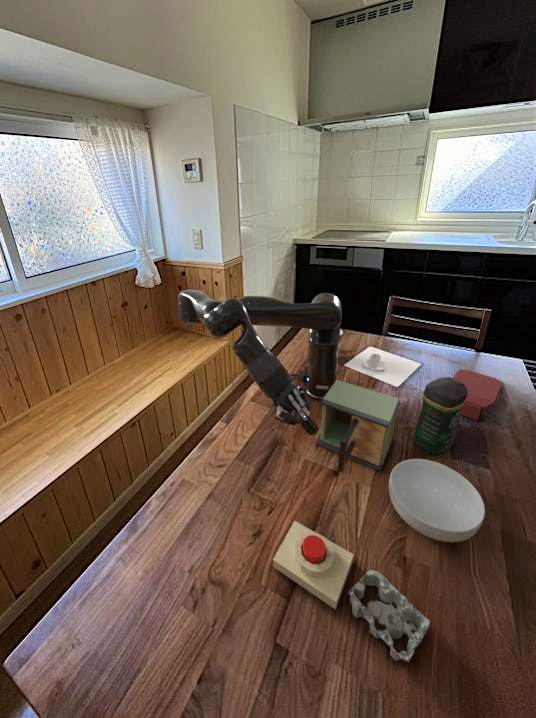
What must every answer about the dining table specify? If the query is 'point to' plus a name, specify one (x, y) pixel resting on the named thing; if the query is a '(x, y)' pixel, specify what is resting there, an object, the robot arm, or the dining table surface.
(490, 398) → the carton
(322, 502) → the dining table surface
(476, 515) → the cereal bowl
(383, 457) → the cupboard
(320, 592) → the switch box
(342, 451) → the door
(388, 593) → the egg carton
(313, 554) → the button
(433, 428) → the coffee jar
